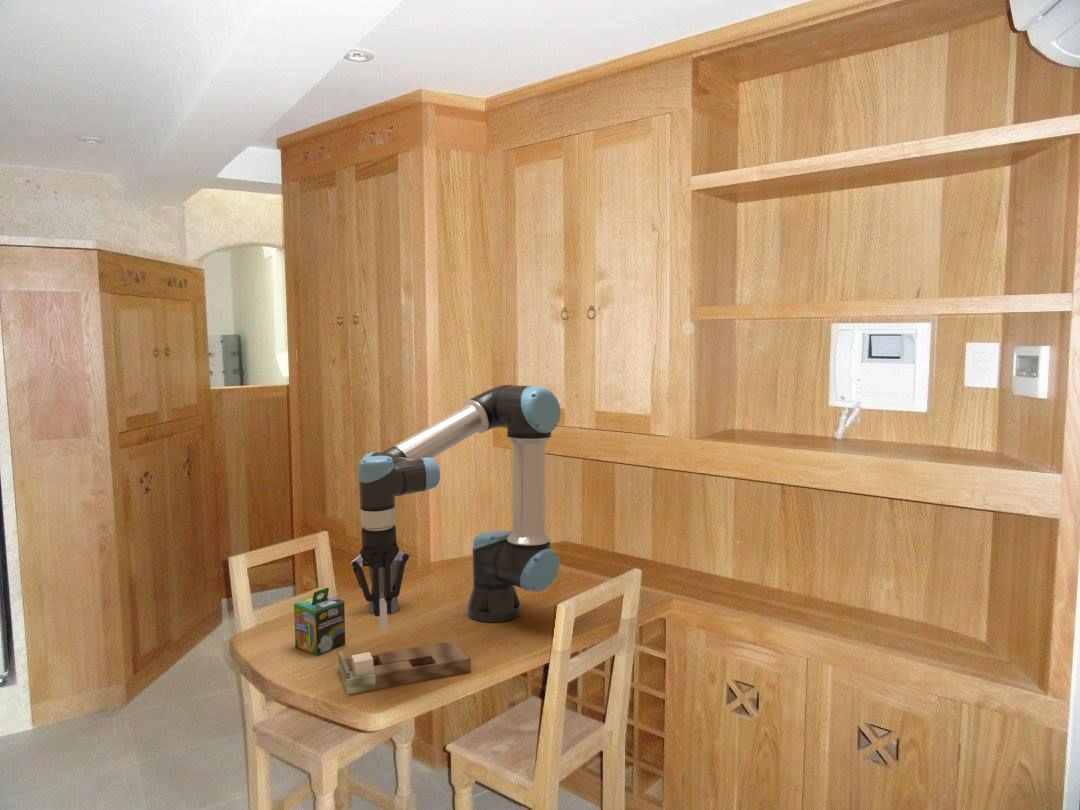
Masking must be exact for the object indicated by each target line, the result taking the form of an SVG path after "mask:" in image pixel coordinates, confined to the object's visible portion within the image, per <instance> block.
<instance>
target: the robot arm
mask: <svg viewBox="0 0 1080 810" xmlns="http://www.w3.org/2000/svg"><path fill="white" fill-rule="evenodd" d="M561 412H562V411H561V405H560V402H559V399H558V398H557V396H556V395H555V394H554V393H553V391H551V390H550V389H548V388H546V387H542V386H541V387H540V386H537V385H512V384H503V385H498V386H495V387H492V388H490V389H488V390H486V391H483V392H481V393H479V394H478V395H476V396H474V397H472V398H470V399H468V400H466V401H465V402H464V404H463V406H462V407H461V408H459V409H458V410H455V412H453V413H451V414H449V415H446V416H445V417H444V418H441V419H440V420H438V421H436V422H435V423H432V424H430V425H429V426H427V427H425V428H424V429H422V430H420V431H418V432H416V433H414V434H413V435H411V436H410V437H407V438H405V439H403V440H402V441H400V442H398V443H397V444H395V445H393V446H391V447H389V448H388V449H387V448H386V450H384V451H382V452H380V451H373V452H372V451H370V452H368V453H366V454H365V455H363V457H362V458H361V460H359V463H358V478H357V480H358V490H359V505H360V506H359V507H360V525H361V527H362V528H361V532H360V533H361V549H360V551H359V555H358V556H356V558H351V560H350V561H349V563H350V564H351V566H352V567H353V568H355V570H356V572H357V575H358V578H359V582H360V585H361V588H360V589H361V591H362V594H363V597H364V599H365V600H366V602H367V603H369V601H371V602H373V613H374V614H373V615H374V617H377V618H378V619H377V620H378V621H377V622H378V628H379V630H380V632H386V631H389V629H388V627H389V626H388V615H391V612H392V611H391V601H392V598H394V597H398V598H399V596H400V591H401V586H402V581H403V578H404V577H403V576H404V572H405V568H406V567H405V566H406V564H407V562H408V560H409V559H410V555H409V553H408V552H406V551H402V550H401V549H400V547H399V546H398V544H397V527H396V526H395V524H396V497H400V496H405V495H409V494H414V493H420V492H425V491H429V490H431V489H434V488H436V487H438V484H439V483H440V480H441V469H440V467H439V464H438V463H437V461H436V460H435V459H434V458H435V457H437V456H439V455H440V454H442V453H444V452H445V451H447V450H449V449H451V448H453V447H454V446H456V445H457V444H459V443H460V442H462V441H465V440H466V439H468V438H469V437H470V436H473V435H475V434H476V433H479V434H484V433H485V432H487V431H489V430H491V429H495V428H497V429H498V428H506V430H507V431H506V436H507V437H506V438H508V440H509V441H510V442H511V443H512V530H502V529H501V530H492V531H485V532H482V533H478V534H477V535H475V536H474V538H473V545H472V568H473V569H472V572H473V573H472V575H473V577H472V579H473V580H472V581H473V586H472V587H473V588H472V590H471V592H470V596H469V599H468V603H467V608H466V611H467V616H468V617H469V618H470V619H472V620H474V621H478V622H483V623H503V622H508V621H511V620H515V619H517V618H518V617H519V616H521V614H522V605H521V601H520V598H519V595H518V592H517V588H520V589H523V590H525V591H532V592H542V591H544V590H546V589H547V588H549V587H550V586H551V585H552V584H553V581H554V580H555V579H556V577H557V575H558V573H559V568H560V559H559V555H558V554H557V553H556V552H555V551H554V550H553V549H552V548H551V537H550V536H549V535H548V533H546V532H545V531H546V529H545V526H546V522H545V521H546V520H545V519H546V518H545V517H546V515H545V514H546V510H545V509H546V504H545V502H546V444H547V442H548V441H549V440H550V439H551V438H552V432H553V431H554V430H555V429H556V428H557V427H558V424H559V423H560V420H561ZM396 556H397V559H398V561H397V566H396V571H395V576H394V581H393V586H392V591H391V579H390V565H391V564H392V562H393V561H394V559H395V557H396ZM362 560H364V561H365V562H366V563H367V564H368V565H369V566H370V567H371V579H370V581H371V580H372V583H371V587H372V594H370V593H371V591H370V589H369V584H368V583H367V579H366V577H365V573H364V569H363V568H362V567H364V566H363V563H362ZM381 567H382V569H383V589H384V598H382V599H380V594H379V568H381ZM367 584H368V585H367ZM516 587H517V588H516Z"/></svg>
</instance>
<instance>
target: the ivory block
mask: <svg viewBox="0 0 1080 810" xmlns="http://www.w3.org/2000/svg"><path fill="white" fill-rule="evenodd" d="M351 658H352V669H353V674H354V677H360V676H366V675H372V674H374V665H373V658H372V656H371V652H370V651H368V652H363V653H362V652H361V653H359V654H353V655H352V654H351Z"/></svg>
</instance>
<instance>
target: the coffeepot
mask: <svg viewBox="0 0 1080 810" xmlns="http://www.w3.org/2000/svg"><path fill="white" fill-rule="evenodd" d="M397 561H398V559H397V556H396V557H395V559H394V561H393V562H392V564H391V565H390V579H391V591H392V586H393V581H394V576H395V571H396V566H397ZM362 563H363V566H362V567H368V571H369V579H370V583H371V584H372V580H371V567H370V566H369V565H368V564H367V563H366V562H365V561H364V560H362ZM352 569H353V572H354V574H355V578H356V580H357V583H358V585H359V588H360V589H362V588H361V585H360V582H359V578H358V575H357V572H356V570H355V568H354V567H353V568H352ZM367 585H368V586H369V584H368V583H367ZM370 594H372V586H371V587H370ZM379 594H380V599H382V598H384V589H383V569H382V567H381V568H379ZM399 610H400V604H399V596H398V597H394V598H392V601H391V611H392V612H391V614H395V613H397V612H398V611H399ZM368 613H369V614H372V615H374V613H373V602H371V601H369V602H368ZM391 614H390V615H391Z"/></svg>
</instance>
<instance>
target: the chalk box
mask: <svg viewBox="0 0 1080 810" xmlns="http://www.w3.org/2000/svg"><path fill="white" fill-rule="evenodd" d="M329 592H330V588H329V587H325V588H322V589H319V590H317V591H314V592H313V596H310V597H308V598H306V599H303V600H301V601H298V602H295V603H294V604H293V617H294V642H295V644H294V645H295V648H297V649H301V650H303V651H305V652H307V653H309V654H312V655H315V656H317V657H318V656H319V655H321V654H324V653H326V652H327V653H328V652H329V651H331V650H332V651H333V650H334V649H337V648H340V647H341V646H344V644H345V645H346V618H345V617H346V615H345V612H346V611H345V610H346V609H345V603H346V602H345V600H344V599H343V600H342V599H340V598H338V597H337V598H336V597H334V596H331V595H329Z"/></svg>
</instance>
